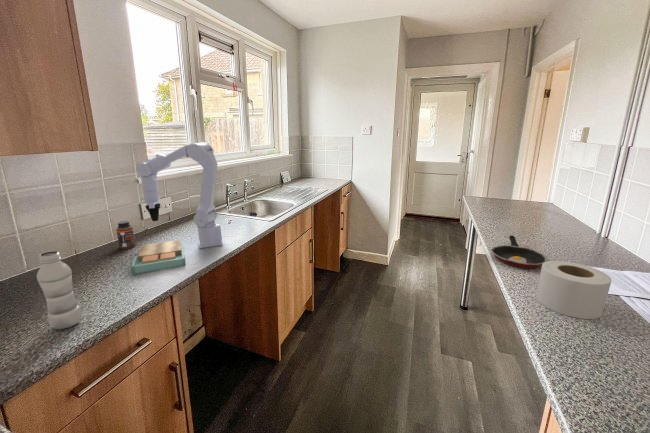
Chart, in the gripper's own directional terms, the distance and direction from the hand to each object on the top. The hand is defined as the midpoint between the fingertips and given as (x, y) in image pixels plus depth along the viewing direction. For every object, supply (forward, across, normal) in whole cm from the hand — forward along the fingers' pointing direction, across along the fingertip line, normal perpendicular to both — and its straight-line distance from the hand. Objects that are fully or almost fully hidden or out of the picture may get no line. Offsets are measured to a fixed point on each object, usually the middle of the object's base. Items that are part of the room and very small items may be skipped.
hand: (155, 220), depth 134 cm
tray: (+10, +27, +2) cm, 29 cm away
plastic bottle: (+11, +58, -19) cm, 62 cm away
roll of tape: (+11, +109, +110) cm, 155 cm away
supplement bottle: (+11, 0, -12) cm, 16 cm away
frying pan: (+11, +79, +132) cm, 154 cm away
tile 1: (+9, +25, -2) cm, 26 cm away
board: (+10, +14, +2) cm, 18 cm away
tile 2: (+9, +25, +4) cm, 26 cm away
